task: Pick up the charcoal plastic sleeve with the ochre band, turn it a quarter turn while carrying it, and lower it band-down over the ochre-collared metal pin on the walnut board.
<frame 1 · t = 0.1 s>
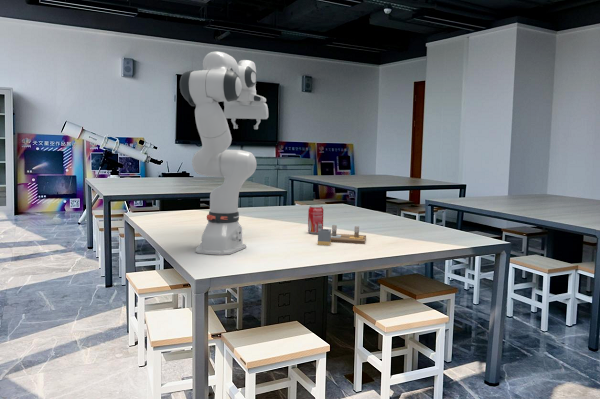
hand: (245, 129, 226), 48 cm above the table, fingers open, 8 cm apart
sleeve: (324, 243, 212), on the table
pin board: (345, 239, 223), on the table
soda can: (315, 233, 237), on the table
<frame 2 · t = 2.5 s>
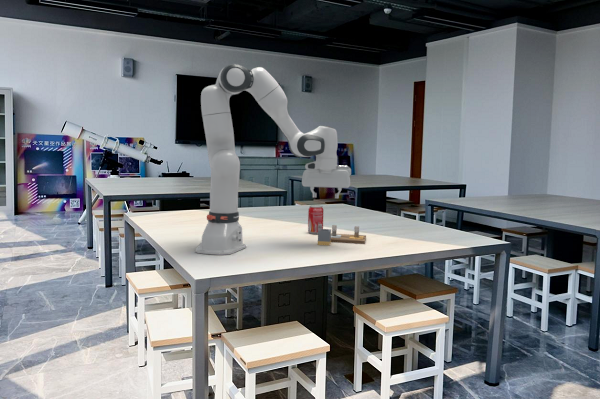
hand: (325, 197, 210), 20 cm above the table, fingers open, 8 cm apart
nothing on the table moved.
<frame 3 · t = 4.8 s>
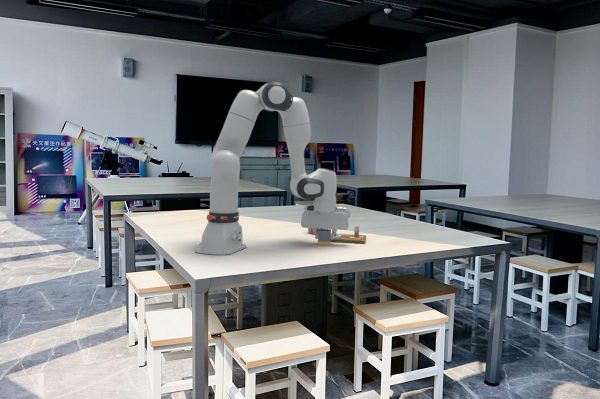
hand: (324, 239, 212), 2 cm above the table, fingers closed on sleeve, 5 cm apart
sleeve: (324, 244, 212), on the table, touching gripper
everything else where it was.
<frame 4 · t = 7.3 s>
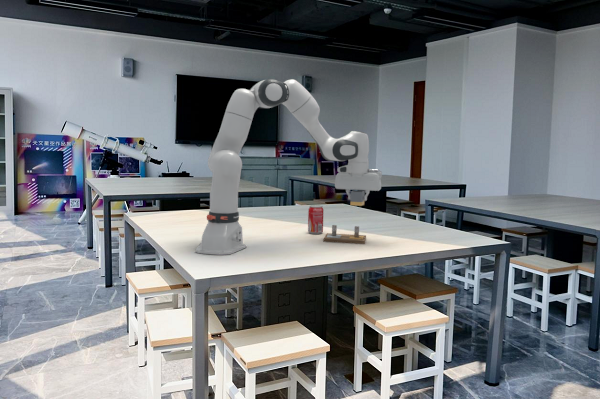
hand: (357, 200, 219), 18 cm above the table, fingers closed on sleeve, 5 cm apart
sleeve: (357, 204, 219), point 16 cm above the table, touching gripper
everything else where it was.
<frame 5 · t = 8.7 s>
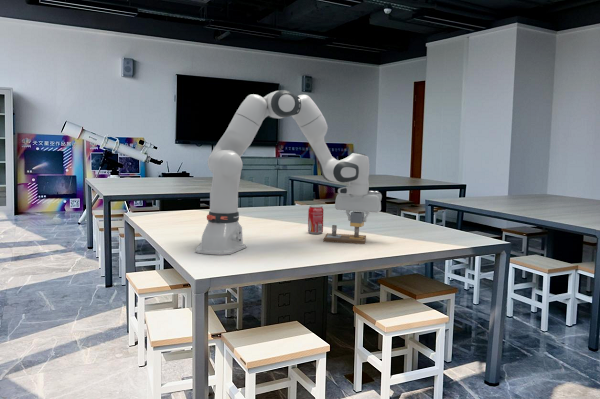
hand: (357, 221, 221), 9 cm above the table, fingers closed on sleeve, 5 cm apart
sleeve: (357, 225, 221), point 7 cm above the table, touching gripper
everything else where it was.
when the fingers open (5 cm above the table, at t = 9.9 s): sleeve stays where it is, resting on pin board.
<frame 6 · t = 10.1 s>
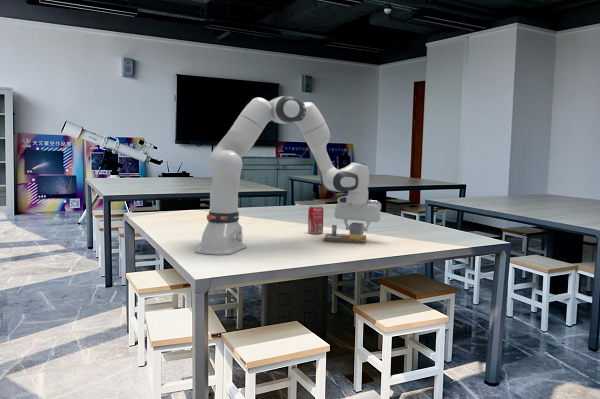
hand: (356, 230, 221), 5 cm above the table, fingers open, 7 cm apart
sleeve: (356, 237, 222), point 1 cm above the table, touching pin board
everything else where it was.
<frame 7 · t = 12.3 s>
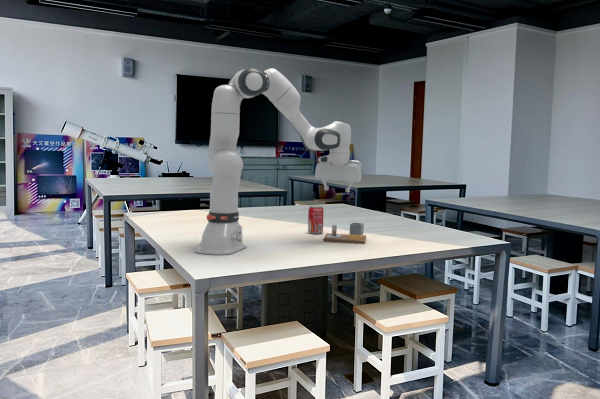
hand: (336, 191, 218), 22 cm above the table, fingers open, 8 cm apart
nothing on the table moved.
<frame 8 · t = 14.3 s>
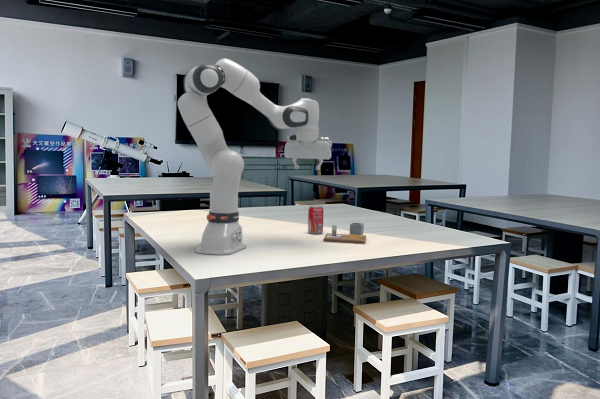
hand: (307, 169, 215), 31 cm above the table, fingers open, 8 cm apart
nothing on the table moved.
at the end: sleeve 0.1 cm from the target spot on the pin board, point 1.5 cm above the pin board's base; sleeve tilted 0°; the gripper is holding nothing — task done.
